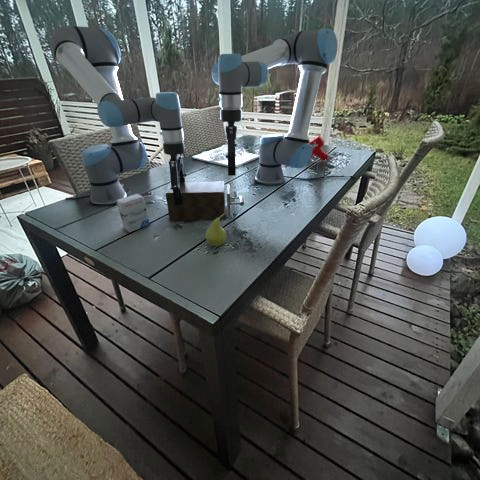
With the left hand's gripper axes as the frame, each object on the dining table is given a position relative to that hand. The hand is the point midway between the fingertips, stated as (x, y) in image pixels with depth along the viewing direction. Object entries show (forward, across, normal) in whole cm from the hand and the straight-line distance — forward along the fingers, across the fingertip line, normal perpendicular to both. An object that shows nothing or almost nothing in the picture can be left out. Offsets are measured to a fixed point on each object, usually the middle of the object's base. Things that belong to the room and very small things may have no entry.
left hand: (181, 198), depth 108 cm
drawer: (+6, 0, +12) cm, 14 cm away
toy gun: (+7, -72, +72) cm, 102 cm away
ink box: (+7, +10, -16) cm, 20 cm away
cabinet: (+7, 0, +6) cm, 10 cm away
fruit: (+7, +23, +15) cm, 29 cm away
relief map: (+7, -80, +17) cm, 82 cm away
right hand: (-11, -1, +21) cm, 23 cm away
